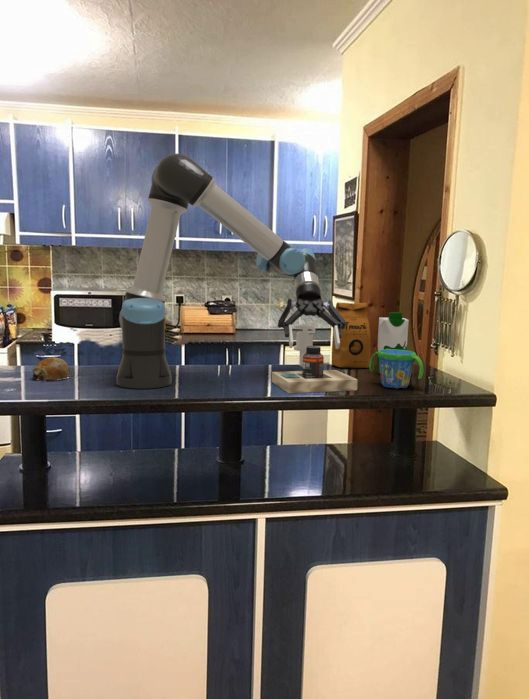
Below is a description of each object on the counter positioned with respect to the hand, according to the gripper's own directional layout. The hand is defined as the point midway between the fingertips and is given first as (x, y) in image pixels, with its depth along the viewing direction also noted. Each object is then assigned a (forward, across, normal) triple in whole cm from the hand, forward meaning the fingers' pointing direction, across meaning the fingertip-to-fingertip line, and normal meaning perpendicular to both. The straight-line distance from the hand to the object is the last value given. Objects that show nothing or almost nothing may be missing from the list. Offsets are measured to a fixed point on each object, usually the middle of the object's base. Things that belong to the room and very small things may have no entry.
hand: (314, 345), depth 164 cm
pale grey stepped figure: (-12, -2, -29) cm, 31 cm away
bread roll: (+4, +75, -13) cm, 76 cm away
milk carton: (-2, -28, -17) cm, 33 cm away
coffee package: (-11, -18, -27) cm, 34 cm away
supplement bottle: (+11, +1, -5) cm, 12 cm away
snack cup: (+11, -23, -4) cm, 26 cm away
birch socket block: (+11, +1, -5) cm, 12 cm away
